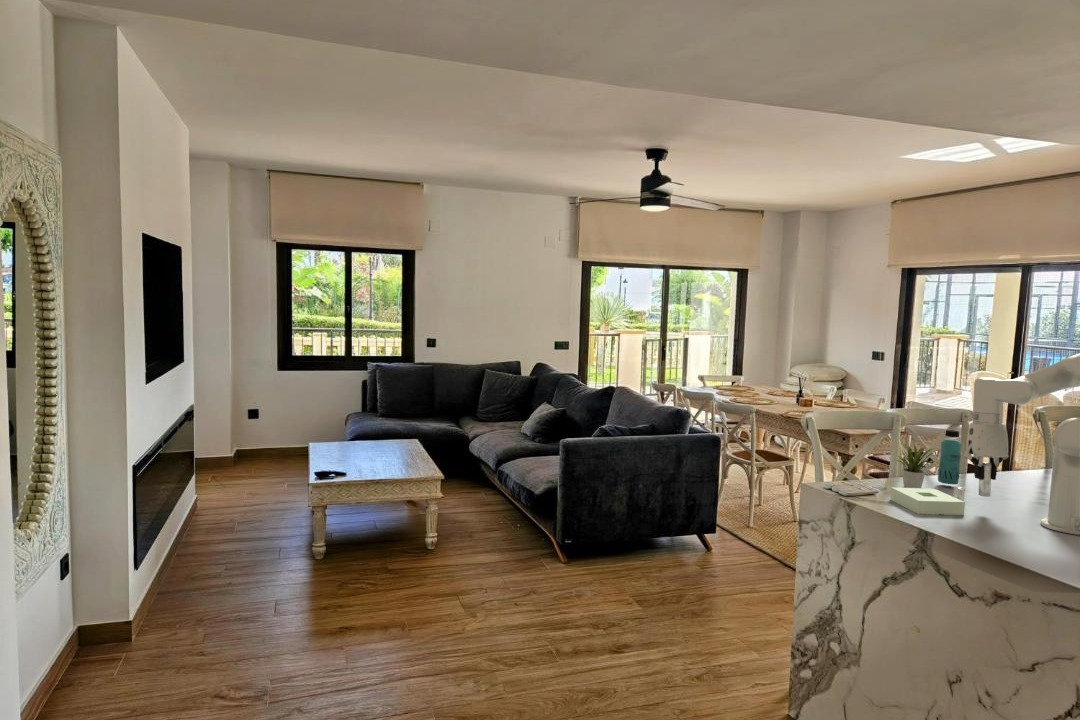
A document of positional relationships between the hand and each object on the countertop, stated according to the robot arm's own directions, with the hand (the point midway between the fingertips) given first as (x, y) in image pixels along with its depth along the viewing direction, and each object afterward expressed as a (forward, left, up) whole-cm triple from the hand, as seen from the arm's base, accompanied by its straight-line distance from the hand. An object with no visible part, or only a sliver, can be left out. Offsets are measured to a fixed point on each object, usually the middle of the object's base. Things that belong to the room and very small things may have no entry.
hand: (985, 478), depth 200 cm
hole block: (+5, +15, -11) cm, 19 cm away
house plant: (+27, +5, -11) cm, 29 cm away
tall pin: (0, 0, -5) cm, 5 cm away
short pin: (+11, +1, -11) cm, 15 cm away
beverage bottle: (+32, -9, -11) cm, 35 cm away
